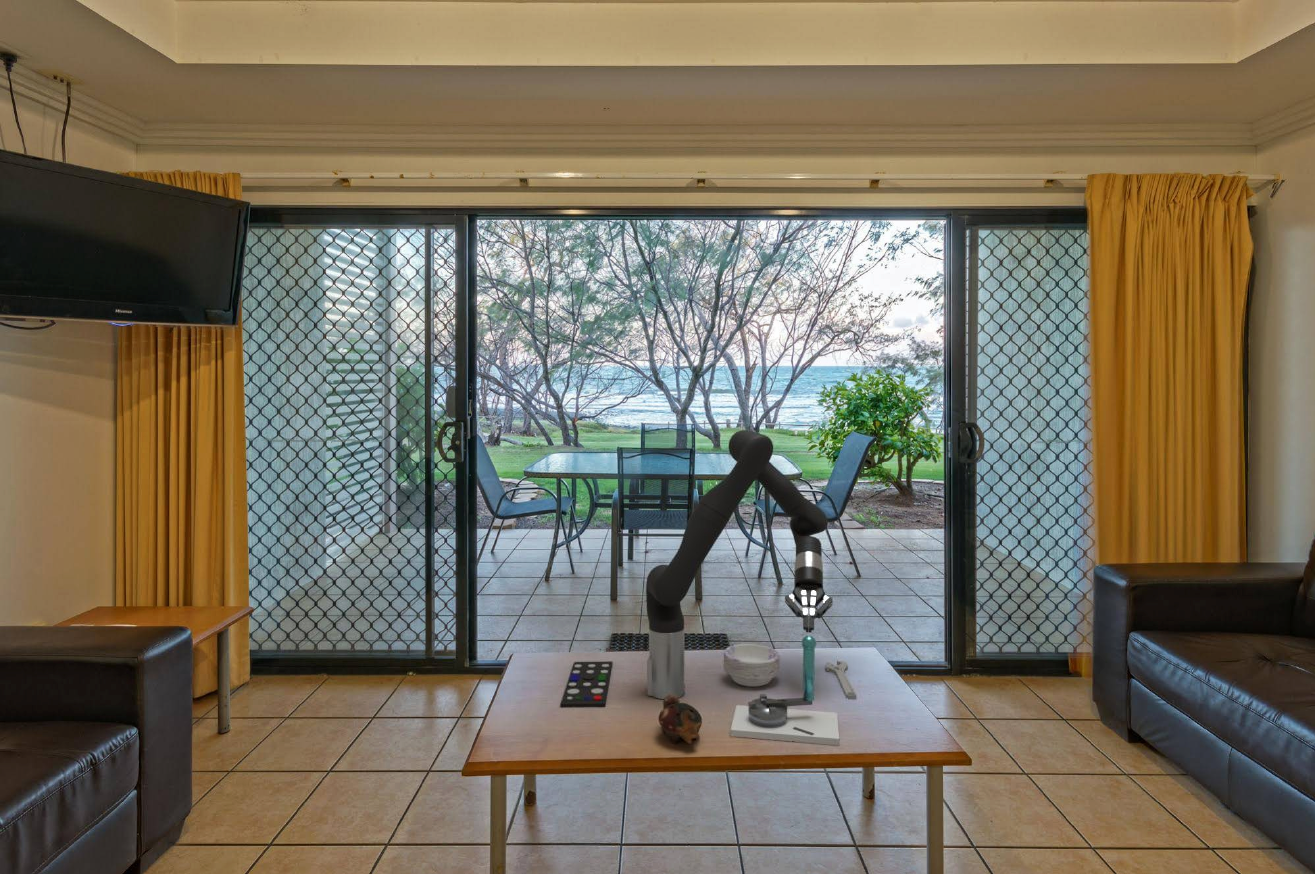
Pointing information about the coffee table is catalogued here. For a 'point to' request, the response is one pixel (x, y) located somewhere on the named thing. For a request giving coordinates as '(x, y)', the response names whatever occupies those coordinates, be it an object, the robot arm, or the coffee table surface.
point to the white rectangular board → (790, 727)
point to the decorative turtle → (679, 720)
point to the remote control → (587, 684)
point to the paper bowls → (751, 664)
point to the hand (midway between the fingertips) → (808, 630)
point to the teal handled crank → (776, 709)
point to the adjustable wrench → (842, 677)
